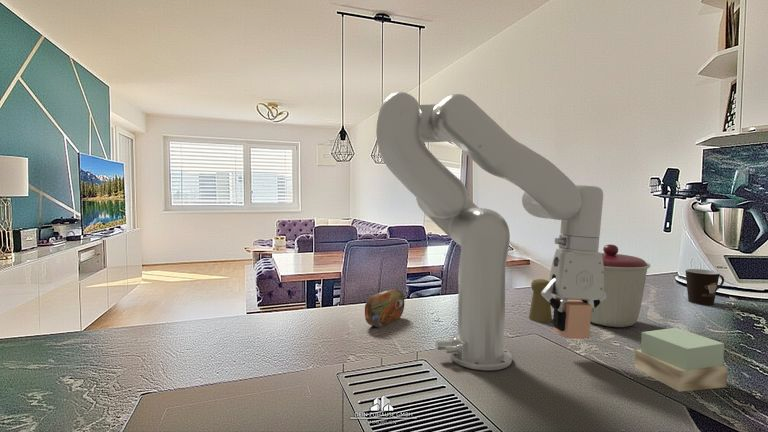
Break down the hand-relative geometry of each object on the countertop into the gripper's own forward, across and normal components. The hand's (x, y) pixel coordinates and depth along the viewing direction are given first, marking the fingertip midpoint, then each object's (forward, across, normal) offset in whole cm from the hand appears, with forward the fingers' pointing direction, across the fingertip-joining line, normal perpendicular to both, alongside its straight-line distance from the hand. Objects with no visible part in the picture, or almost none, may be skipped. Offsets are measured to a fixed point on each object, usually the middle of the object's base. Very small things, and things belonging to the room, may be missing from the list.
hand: (571, 328), depth 87 cm
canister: (+5, +25, +20) cm, 32 cm away
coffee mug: (+2, +69, +32) cm, 76 cm away
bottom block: (+6, +15, -12) cm, 20 cm away
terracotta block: (+1, 0, 0) cm, 1 cm away
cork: (+6, +8, +25) cm, 27 cm away
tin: (+9, -35, +29) cm, 46 cm away
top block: (+2, +15, -12) cm, 19 cm away
